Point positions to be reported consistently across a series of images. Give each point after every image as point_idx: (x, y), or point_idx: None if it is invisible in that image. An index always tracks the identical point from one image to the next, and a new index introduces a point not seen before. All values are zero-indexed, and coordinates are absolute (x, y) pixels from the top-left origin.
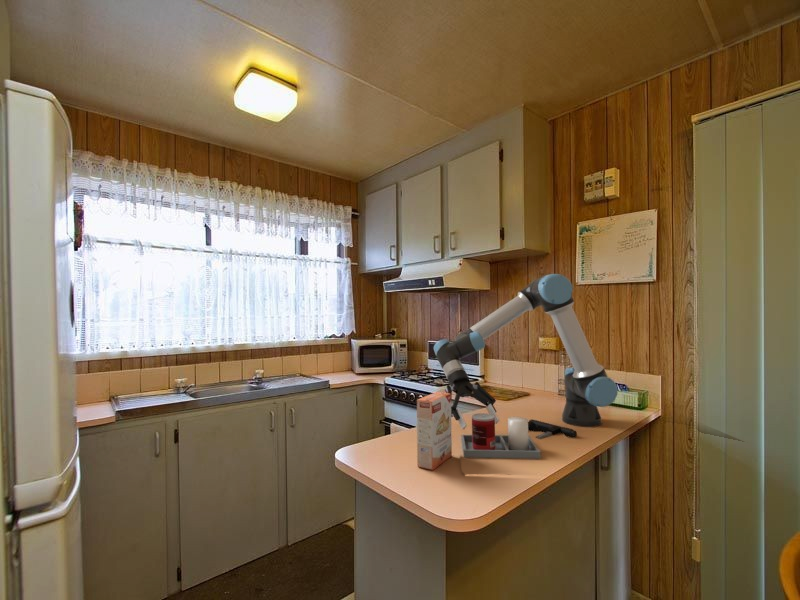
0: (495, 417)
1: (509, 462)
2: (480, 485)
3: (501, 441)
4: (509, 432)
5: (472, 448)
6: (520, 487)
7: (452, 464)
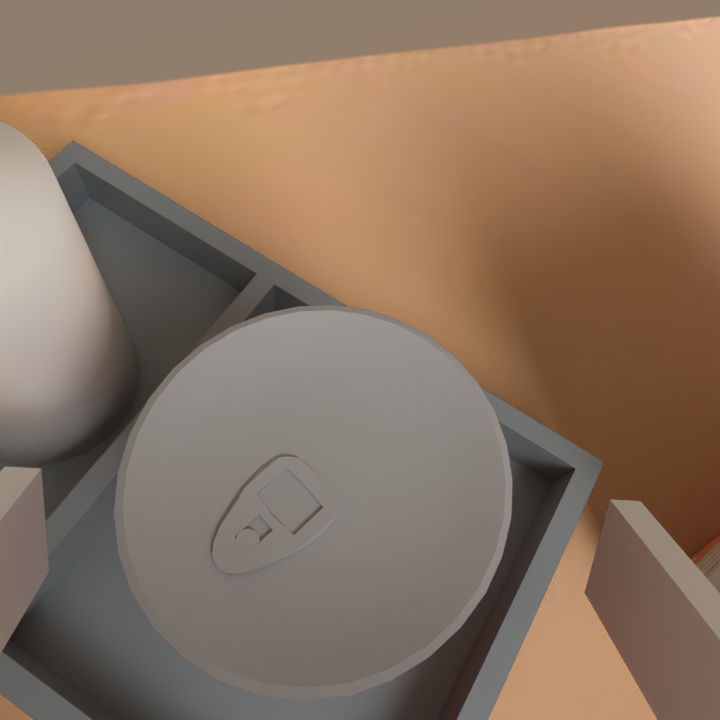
0: (16, 524)
1: None
2: (646, 159)
3: (91, 514)
4: (93, 322)
5: None
6: (474, 60)
7: (686, 454)
